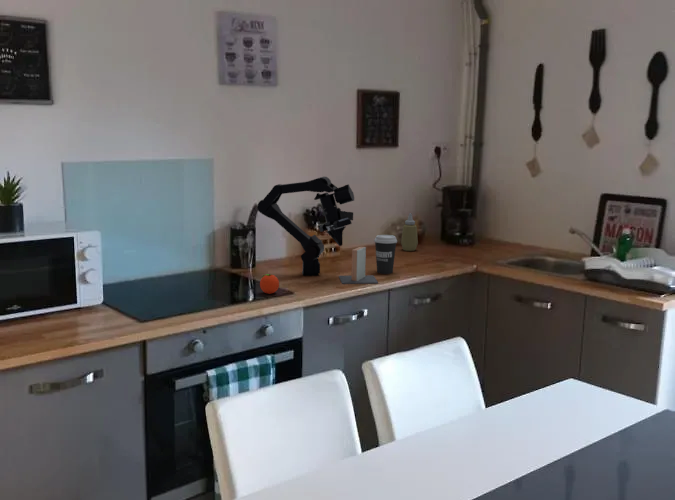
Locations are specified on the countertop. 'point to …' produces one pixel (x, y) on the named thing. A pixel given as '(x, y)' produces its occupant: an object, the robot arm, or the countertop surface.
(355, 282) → the mat
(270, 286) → the clementine
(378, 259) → the coffee cup
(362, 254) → the tile
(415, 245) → the squeeze bottle
